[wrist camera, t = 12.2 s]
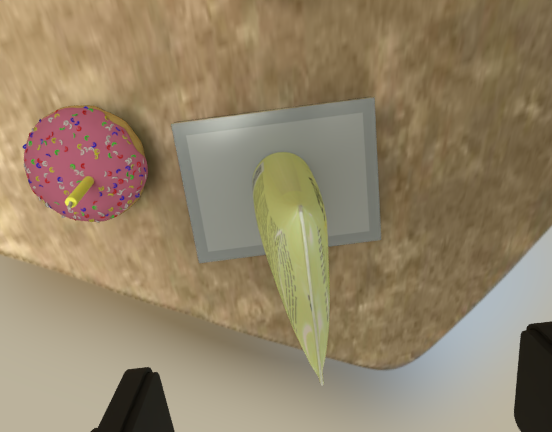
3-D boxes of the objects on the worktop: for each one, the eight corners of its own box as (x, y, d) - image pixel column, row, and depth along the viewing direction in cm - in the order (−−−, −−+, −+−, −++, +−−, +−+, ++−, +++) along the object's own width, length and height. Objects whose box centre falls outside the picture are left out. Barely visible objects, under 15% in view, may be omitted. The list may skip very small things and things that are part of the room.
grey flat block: (369, 96, 33) (374, 97, 32) (376, 233, 37) (381, 240, 36) (174, 122, 33) (170, 124, 32) (201, 256, 37) (198, 263, 36)
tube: (330, 182, 34) (414, 303, 15) (289, 226, 35) (322, 390, 16) (278, 137, 32) (301, 209, 14) (238, 184, 34) (209, 310, 15)
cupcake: (176, 133, 34) (134, 159, 22) (138, 221, 36) (81, 284, 25) (75, 83, 32) (-26, 83, 21) (41, 177, 34) (-67, 224, 23)
